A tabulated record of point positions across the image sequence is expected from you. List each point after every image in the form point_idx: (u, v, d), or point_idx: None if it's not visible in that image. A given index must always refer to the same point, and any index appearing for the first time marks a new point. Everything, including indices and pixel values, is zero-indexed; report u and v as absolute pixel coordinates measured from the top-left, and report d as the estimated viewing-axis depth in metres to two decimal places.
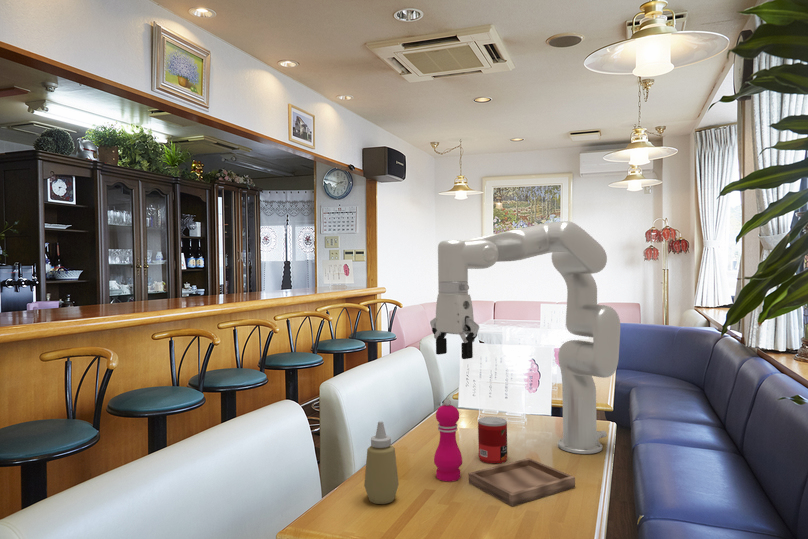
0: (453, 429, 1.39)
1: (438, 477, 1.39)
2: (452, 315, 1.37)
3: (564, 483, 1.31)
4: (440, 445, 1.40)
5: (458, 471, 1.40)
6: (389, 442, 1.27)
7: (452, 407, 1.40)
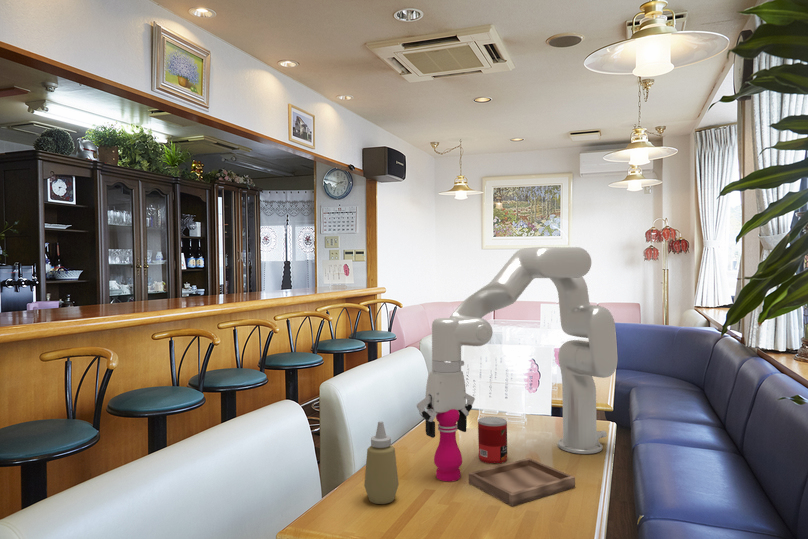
0: (453, 429, 1.39)
1: (438, 477, 1.39)
2: (459, 392, 1.40)
3: (564, 483, 1.31)
4: (440, 445, 1.40)
5: (458, 471, 1.40)
6: (389, 442, 1.27)
7: None
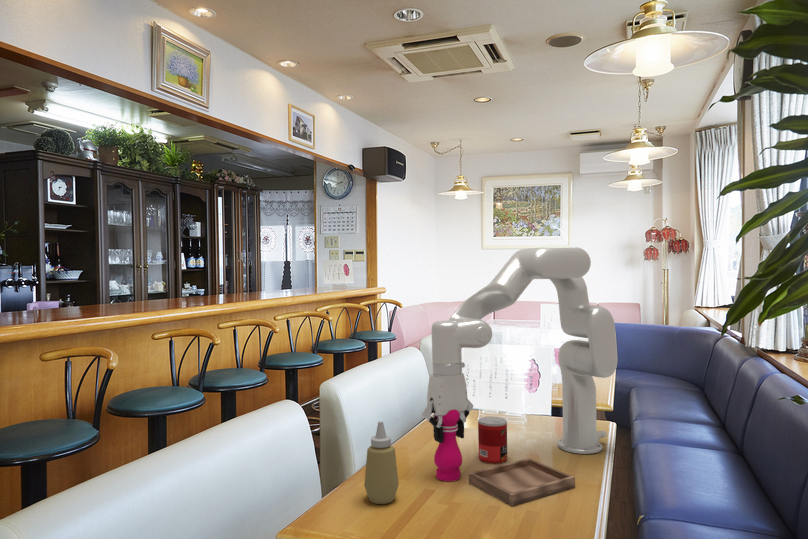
0: (453, 429, 1.39)
1: (438, 477, 1.39)
2: (460, 394, 1.40)
3: (564, 483, 1.31)
4: (440, 445, 1.40)
5: (458, 471, 1.40)
6: (389, 442, 1.27)
7: None
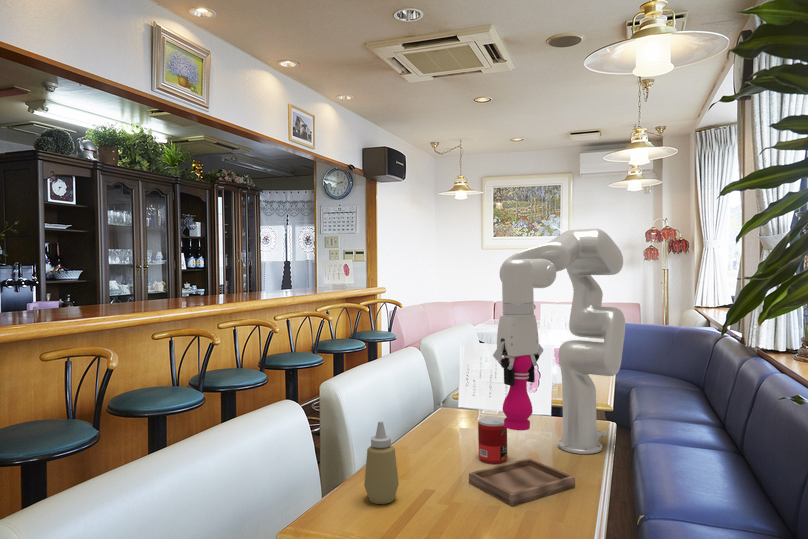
0: (525, 376, 1.33)
1: (507, 426, 1.33)
2: (532, 336, 1.34)
3: (564, 483, 1.31)
4: (510, 392, 1.34)
5: (528, 421, 1.33)
6: (389, 442, 1.27)
7: None
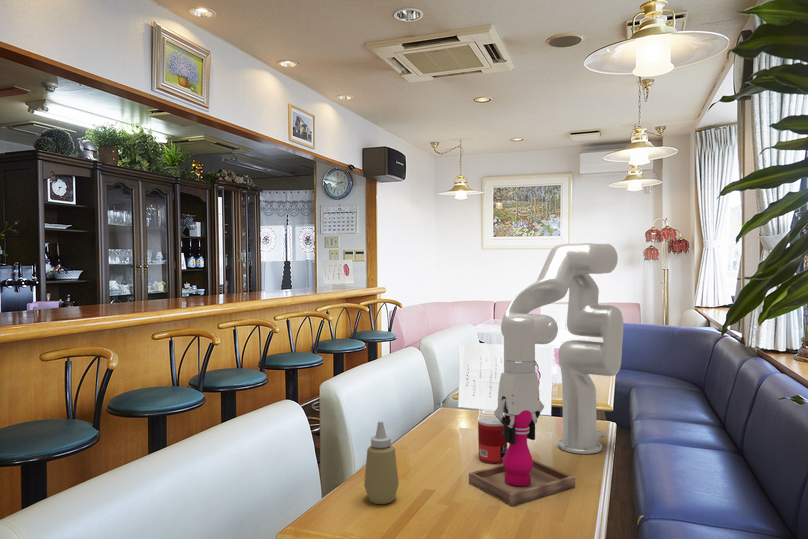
0: (526, 431, 1.33)
1: (508, 481, 1.33)
2: (533, 394, 1.34)
3: (564, 483, 1.31)
4: (511, 447, 1.33)
5: (529, 476, 1.33)
6: (389, 442, 1.27)
7: None
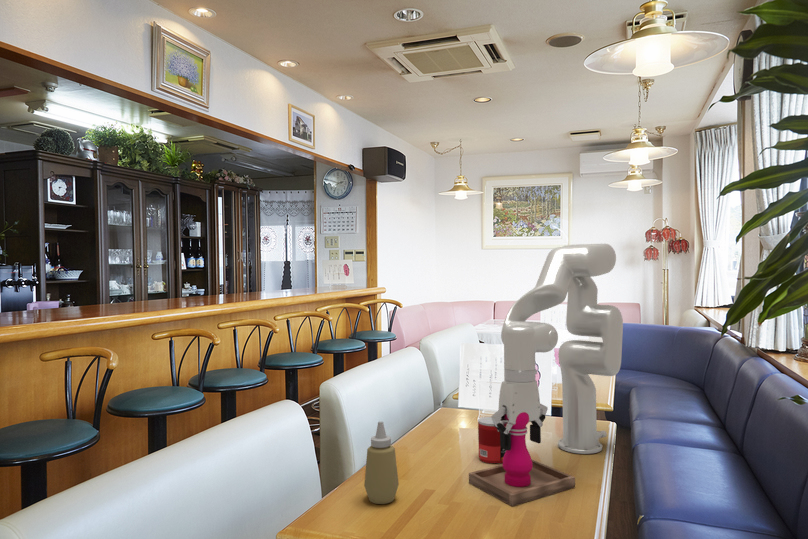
0: (524, 432, 1.32)
1: (508, 482, 1.33)
2: (533, 402, 1.34)
3: (564, 483, 1.31)
4: None
5: (528, 476, 1.33)
6: (389, 442, 1.27)
7: None
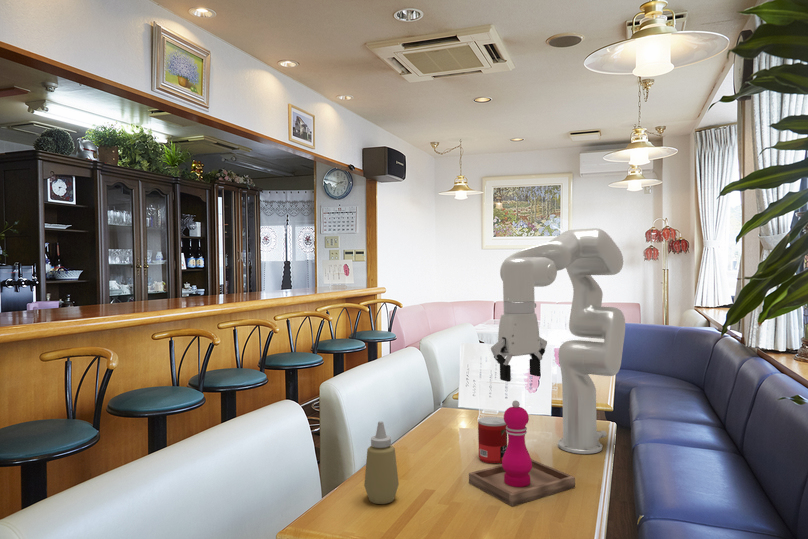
0: (523, 432, 1.32)
1: (507, 482, 1.33)
2: (533, 335, 1.34)
3: (564, 483, 1.31)
4: (509, 449, 1.33)
5: (528, 476, 1.33)
6: (389, 442, 1.27)
7: (521, 409, 1.33)
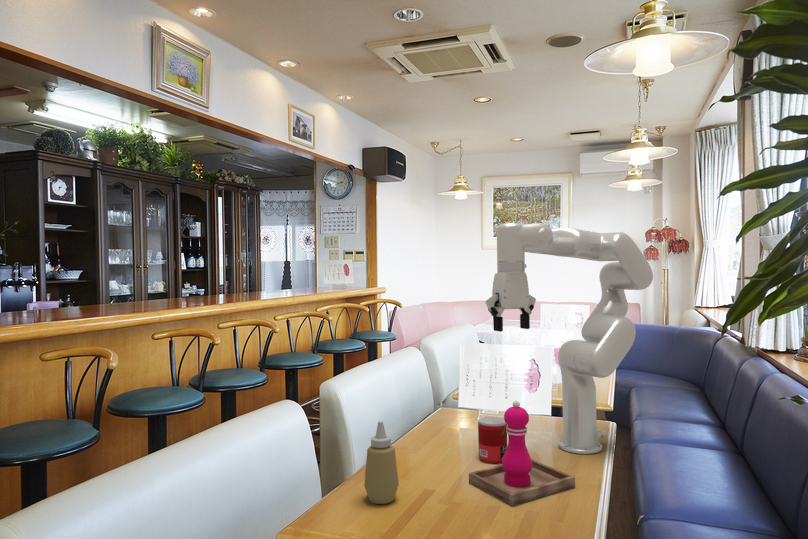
0: (523, 432, 1.32)
1: (507, 482, 1.33)
2: (523, 291, 1.51)
3: (564, 483, 1.31)
4: (509, 449, 1.33)
5: (528, 476, 1.33)
6: (389, 442, 1.27)
7: (522, 409, 1.33)
